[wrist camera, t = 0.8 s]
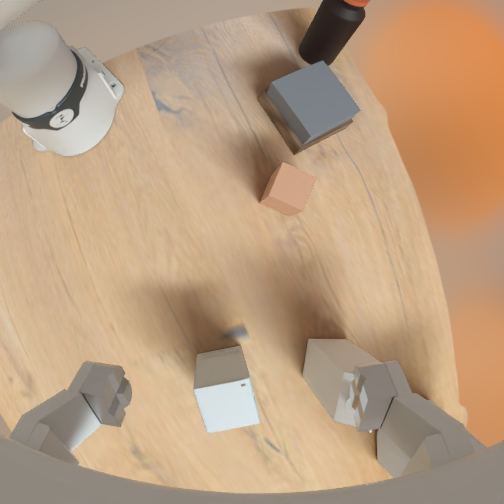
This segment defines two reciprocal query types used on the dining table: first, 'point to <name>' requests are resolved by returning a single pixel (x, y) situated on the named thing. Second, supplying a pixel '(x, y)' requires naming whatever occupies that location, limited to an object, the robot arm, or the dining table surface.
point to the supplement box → (224, 390)
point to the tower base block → (287, 130)
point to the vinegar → (331, 29)
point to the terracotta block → (288, 190)
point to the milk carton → (334, 374)
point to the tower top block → (312, 101)
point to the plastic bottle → (396, 459)
